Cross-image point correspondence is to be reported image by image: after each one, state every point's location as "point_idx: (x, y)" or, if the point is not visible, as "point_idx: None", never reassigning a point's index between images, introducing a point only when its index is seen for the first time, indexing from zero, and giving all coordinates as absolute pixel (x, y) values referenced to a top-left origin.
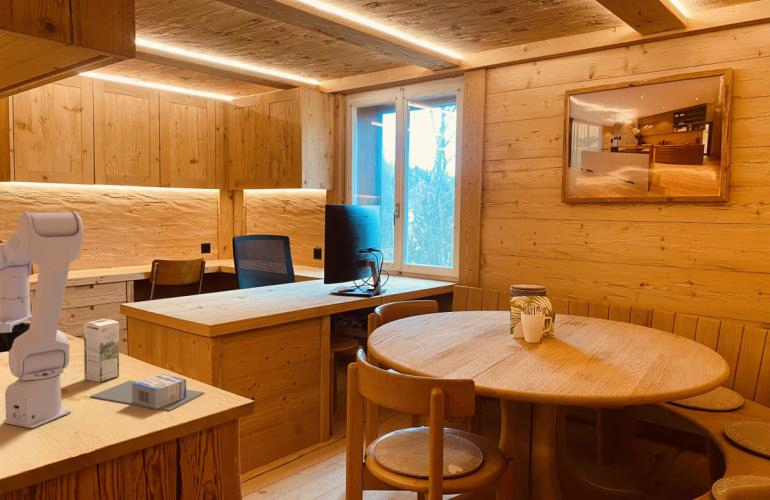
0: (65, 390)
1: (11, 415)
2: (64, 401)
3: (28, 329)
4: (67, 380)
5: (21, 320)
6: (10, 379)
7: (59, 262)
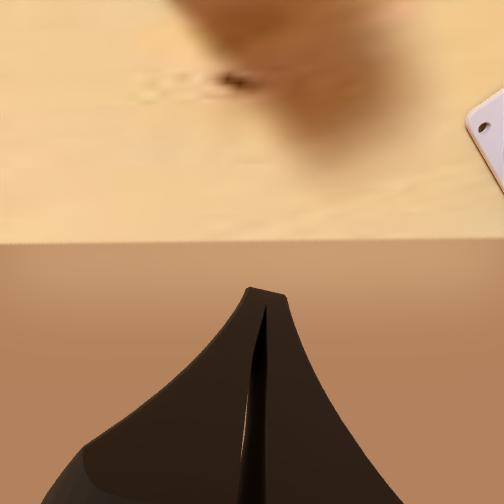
0: (252, 19)
1: None
2: (432, 20)
3: (286, 499)
4: (91, 12)
5: None
6: (53, 232)
7: None
